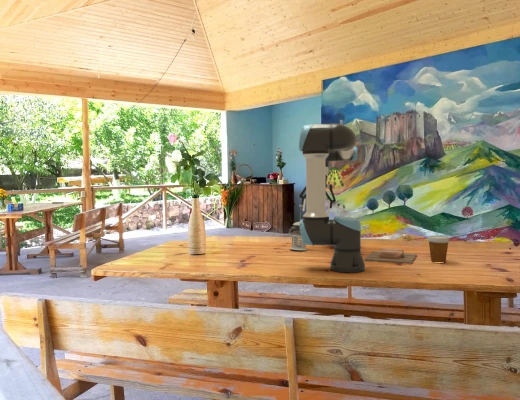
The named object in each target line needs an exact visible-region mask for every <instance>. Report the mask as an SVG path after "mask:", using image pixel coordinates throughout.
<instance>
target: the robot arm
mask: <svg viewBox="0 0 520 400" xmlns="http://www.w3.org/2000/svg"><path fill="white" fill-rule="evenodd" d="M356 144H357V135H356V133H355V131H353V130H352V128H350V127H348V126H346V125H345V124H341V123H310V124H305V125H303V126H302V127H301V129H300V133H299V142H298V150H299V151H300V152H302V156H303V157H304V159H305V166H306V167H305V177H306V178H305V183H306V184H305V186H304V188H303V190H302V191H301V192H300V194H299V196H298V197H299V198H300V199H301V205H302V206H303V207H302V212H305V211H306V212H305V213H304V214H303V215H302V219H301V218H300V219H299V222H300V226H299V227H300V232H301V233H300V234H301V238H302V239H301V240H302V241H303V243H304V244H305V245H306V246H313V247H314V246H323V247H324V246H327V247H328V246H331V247H333V246H334V248H333V255H332V256H331V257H332V258H331V261H330V264H329V265H330V270H331V271H332V272H333V271H334V272H338V273H345V272H354V273H361V272H364V271H365V270H366V264H365V261H364V258H363V254H362V252H361V251H362V250H361V249H362V248H361V247H362V246H361V245H362V243H361V242H362V241H361V239H362V233H361V232H362V229H361V227H362V226H361V221H360V220H359V219H357V218H354V217H348V216H339V215H338V216H337V215H336V216H334V217H333V219H330V215H329V214H330V209H332V208H333V203H336V202H337V200H336V199H337V198H336V197H335V194H334V191H333V185H332V184H327V182H328V175H329V167H330V162H352V161H353V162H354V161H355V162H356V161H357V160H358V147H357V146H356ZM327 187H328V188H327ZM326 188H327V189H329V191H330V194H331V196H330V195H329V194H328V192H327V190H326ZM331 197H332V198H331ZM326 198H327V200H329V202H328V207H326V206H327V204H326ZM326 209H327V210H326ZM326 211H327V212H326ZM302 241H301V242H302Z"/></svg>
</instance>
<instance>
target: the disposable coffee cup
mask: <svg viewBox="0 0 520 400" xmlns="http://www.w3.org/2000/svg"><path fill="white" fill-rule="evenodd" d="M427 241H428V246H429V255H430V262H431V261H432V262H445V263H446V262H447V261H446V260H447V256H448V255H447V253H448V246H449V242H450V239H449V237H448V236H444V235H429V236H428V239H427ZM432 262H431V263H432Z"/></svg>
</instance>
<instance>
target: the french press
mask: <svg viewBox="0 0 520 400" xmlns="http://www.w3.org/2000/svg"><path fill="white" fill-rule="evenodd" d="M298 207H300V208H303V205H302V204H299V205H298ZM301 214H302V210H300V214H299V218H302V217H301ZM292 225H293V226H291V227H290V229H288V230H289V231H288V232H292V231H293V232H292V233H291V234H288V236H289V238H291V247H290V248H289V249H290V250H294V251H307V250H308V249H307V248H306V247H307V245H305V244H304V243H303V241H302V238H301V232H300V221H297V222H294V223H293V224H292ZM295 226H298V227H299V231H296V230H295ZM294 230H295V231H294Z"/></svg>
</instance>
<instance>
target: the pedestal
mask: <svg viewBox="0 0 520 400" xmlns="http://www.w3.org/2000/svg"><path fill="white" fill-rule="evenodd" d="M417 256H418V254H417V253H409V252H404V249H400V248H396V247H395V248H394V247H393V248H392V247H387V248H386V247H384V248H379V249H378V251H377V250H376V251H375V250H374V251H371V252H370V253H369V254H368V255H367V256H366V257H365V258H363V261H364V262H373V261H377V262H376V263H387V262H392V264H402V263H411V264H410V265H412V264H413V263H414V261H415V260H416V258H417ZM415 257H416V258H415ZM414 259H415V260H414ZM378 261H379V262H378ZM394 262H395V263H394ZM412 262H413V263H412Z"/></svg>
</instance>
